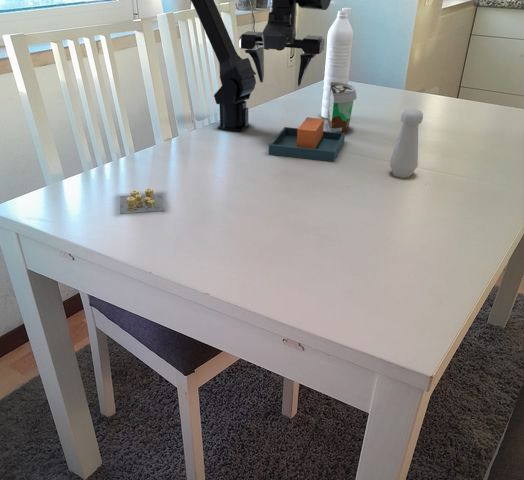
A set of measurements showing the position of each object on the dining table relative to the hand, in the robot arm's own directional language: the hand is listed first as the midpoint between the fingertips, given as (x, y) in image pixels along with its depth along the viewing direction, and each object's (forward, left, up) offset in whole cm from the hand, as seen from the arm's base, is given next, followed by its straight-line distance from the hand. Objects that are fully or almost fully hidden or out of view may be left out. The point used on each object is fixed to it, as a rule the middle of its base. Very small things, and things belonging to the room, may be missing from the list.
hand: (280, 83), depth 128 cm
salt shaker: (+32, -17, -12) cm, 38 cm away
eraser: (+9, -7, -11) cm, 16 cm away
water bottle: (+10, +22, -12) cm, 27 cm away
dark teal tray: (+9, -7, -12) cm, 16 cm away
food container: (+14, +10, -12) cm, 21 cm away
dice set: (-14, -48, -12) cm, 51 cm away
